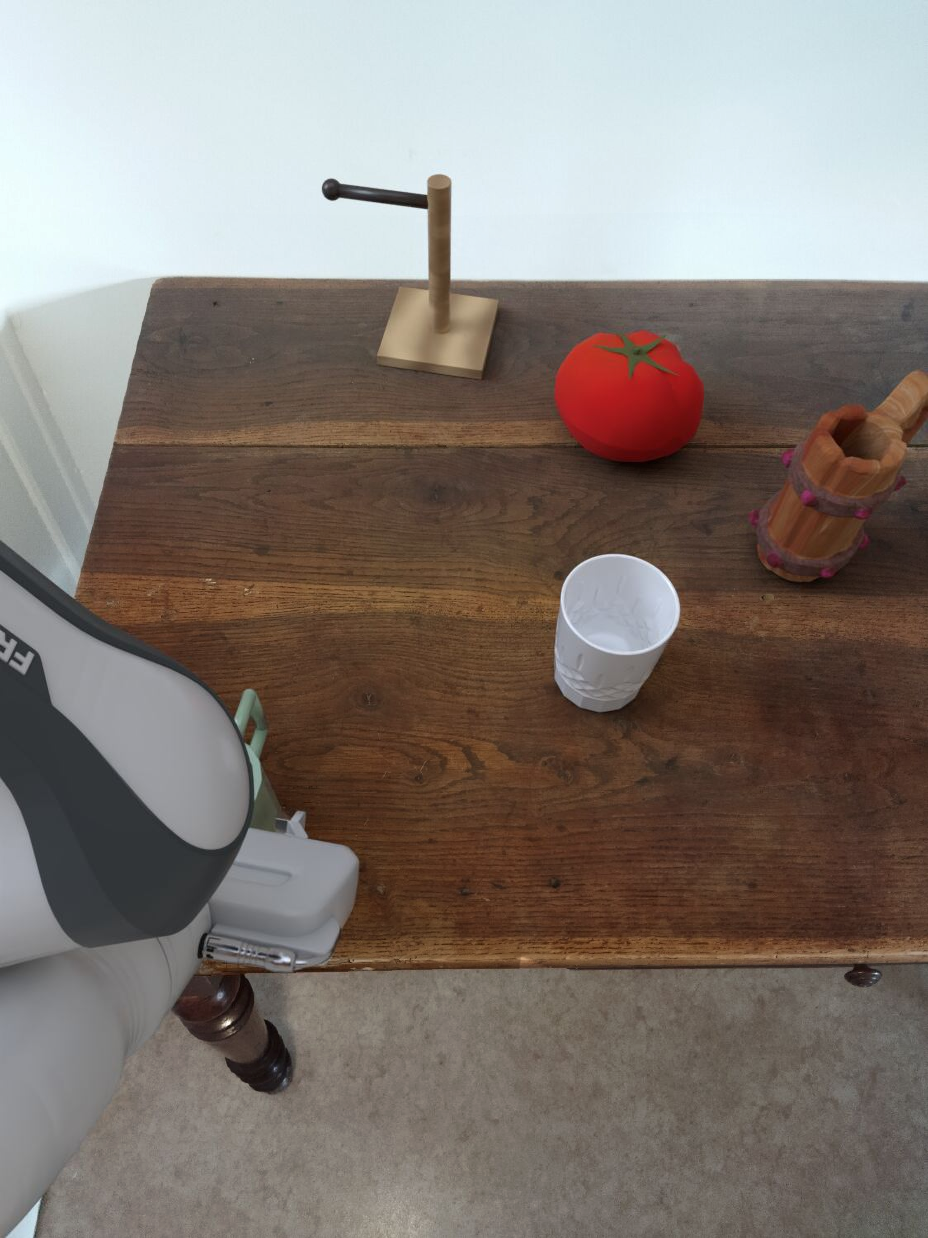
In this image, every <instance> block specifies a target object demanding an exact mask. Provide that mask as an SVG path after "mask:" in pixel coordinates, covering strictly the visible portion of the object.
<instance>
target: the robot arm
mask: <svg viewBox="0 0 928 1238" xmlns="http://www.w3.org/2000/svg"><path fill="white" fill-rule="evenodd" d="M245 743H246V742H245V740H244V736H243V737H242V735H241V733H240V730H239V728H238V726H237V724H236V722H235V720H234V717H233V715H232V713H231V712H230V710H229V709H228V707H227V705H226V704H225V703H224V702H223V700H222V699H221V698H220V696H218V694H217V693H216V692H215V691H214V690H213V689H212V688H211V687H210V686H209V685H208V684H207V683H206V682H205V681H204V680H202V679H201V678H200V677H199V676H198V675H197V674H195V673H194V672H193V671H192V670H191V669H189V668H188V667H187V666H186V665H183V664H182V663H181V662H179V661H178V660H176V659H175V658H173V657H172V656H170V655H168V654H167V653H166V652H164V651H162V650H160V649H158V648H157V647H155V646H153V645H151V644H149V643H148V642H146V641H144V640H142V639H140V638H138V637H136V636H135V635H133V634H131V633H129V632H126V631H125V630H123V629H121V628H120V627H117V626H115V625H114V624H112V623H111V622H109V621H108V620H105V619H104V618H102V617H100V616H99V615H98V614H96V613H94V612H93V611H91V610H90V609H89V608H87V607H86V606H84V605H83V604H82V603H80V602H79V601H78V600H76V599H75V598H74V597H72V596H71V595H70V594H69V593H67V592H66V591H65V590H64V589H62V588H61V587H60V586H59V585H57V584H56V583H55V582H54V581H52V579H50V578H49V577H47V576H46V575H45V574H44V573H42V572H41V571H40V570H39V569H38V568H36V567H35V566H34V565H32V564H31V562H28V561H27V560H26V559H25V558H24V557H22V556H21V554H19V553H17V552H16V551H15V550H14V549H12V548H11V547H10V546H9V545H8V544H6V543H5V542H4V541H3V540H1V539H0V1238H7V1237H8V1236H9V1235H10V1234H11V1233H12V1232H13V1231H14V1230H15V1229H16V1228H17V1227H18V1226H19V1224H20V1223H21V1222H22V1221H23V1220H24V1219H25V1218H26V1217H27V1215H28V1214H29V1213H30V1212H31V1211H32V1209H33V1208H34V1207H35V1206H36V1205H37V1204H38V1203H39V1201H41V1199H42V1198H43V1196H44V1195H45V1194H46V1192H48V1190H49V1189H50V1188H51V1186H52V1184H53V1183H55V1180H57V1178H58V1177H59V1176H60V1174H61V1173H62V1172H63V1171H64V1169H65V1168H66V1166H67V1165H68V1164H69V1162H70V1161H71V1160H72V1158H73V1156H74V1155H75V1154H76V1153H77V1151H78V1150H79V1148H80V1147H82V1144H83V1143H84V1142H85V1140H86V1138H87V1137H88V1136H89V1134H90V1132H91V1131H92V1130H93V1128H94V1127H95V1125H96V1123H97V1122H98V1120H99V1119H100V1118H101V1116H102V1115H103V1114H104V1112H105V1110H106V1108H107V1107H108V1105H109V1104H110V1102H111V1100H112V1099H113V1097H114V1095H115V1093H116V1091H117V1089H118V1086H119V1084H120V1082H121V1079H122V1077H123V1072H124V1068H125V1064H126V1061H127V1060H128V1059H129V1058H131V1057H132V1056H134V1055H135V1054H136V1053H137V1052H138V1051H140V1050H141V1049H142V1048H143V1047H144V1046H145V1045H146V1044H147V1043H148V1042H149V1041H150V1040H151V1039H152V1037H153V1036H154V1035H155V1034H156V1032H157V1031H158V1029H159V1028H160V1027H161V1025H162V1023H163V1022H164V1020H165V1019H166V1018H167V1016H168V1015H169V1013H170V1012H171V1010H172V1009H173V1007H174V1006H175V1004H176V1003H177V1002H178V1000H179V999H180V997H181V995H182V994H183V992H184V990H185V989H186V987H187V986H188V985H189V983H190V981H191V980H192V979H193V977H194V975H195V974H196V972H197V971H198V970H199V968H200V966H201V965H202V964H203V962H204V960H205V959H207V960H212V961H217V962H222V963H227V964H232V965H240V966H241V965H242V966H243V965H246V966H251V967H255V968H256V967H257V968H261V969H264V970H266V971H269V972H271V973H276V974H293V973H294V972H295V971H299V970H302V969H304V968H311V967H315V966H318V967H321V966H325V965H326V964H328V963H329V961H330V960H331V959H332V958H333V955H334V954H335V952H336V949H337V947H338V945H339V942H340V940H341V938H342V930H343V927H344V926H345V925H346V923H347V921H348V919H349V917H350V916H351V914H352V912H353V909H354V906H355V902H356V896H357V891H358V885H359V875H360V860H359V857H358V856H357V855H356V853H355V852H354V851H353V850H352V849H351V847H349V846H347V845H343V844H340V843H339V844H338V843H333V842H328V841H323V840H317V839H312V838H309V836H308V834H307V832H306V831H305V827H306V819H307V813H306V811H303V810H297V809H291V808H285V807H281V808H282V809H281V811H280V813H278V814H277V816H276V817H275V822H274V829H275V832H270V831H265V830H259V829H254V828H249V826H250V823H251V820H252V815H253V809H254V780H253V773H252V767H251V763H250V758H249V755H248V751H247V748H246V745H245Z"/></svg>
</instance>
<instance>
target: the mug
mask: <svg viewBox="0 0 928 1238" xmlns="http://www.w3.org/2000/svg"><path fill="white" fill-rule="evenodd" d="M927 419H928V373H925V372H924V371H922V370H920V369H916V370H912V371H911V372H910V373H908V374H907V375H906V376H904V378H903V379H902V380H901V381H900V383H898V385H896V387H894V389H893V390H892V391H891V392H890V393H889V395H888V396H887V397H886V398H885V399H884V400H883V401H882V402H881V403H880V405H878V406H877V407H876V408H875V409H873V410H872V411H871V412H869V411H867V409H866V407H864V406H863V405H860V404H846V405H843V406H841V407H840V408H838V409H837V410H836V411H832V410H831V411H827V412H825V413H824V414H823V415H822V416H821V417H820V418H819V420H818V422H817V424H816V425H815V426H814V428H813V430H811V431H810V432H808V433H807V434H806V435H804V436H803V437H802V438H801V439H800V440H799V442H797V445H796V446H795V448H790V449H787V450H784V451H783V453H782V455H781V456H780V460H781V462H782V464H783V466H784V467H785V468H787V478H786V481H785V483H784V485H783V487H782V489H780V490H779V491H777V492H775V493H774V494H773V495H772V496H771V497H770V498H769V499H768V500H767V501H766V502H765V503H764V505H763V507H762V508H761V509H753V510H752V511H750V512H749V514H748V520H749V522H750V524H751V525H752V526H753V527H754V528H755V534H756V540H757V545H756V550H757V555H758V559H759V560H760V562H761V563H762V565H763V566H764V567H765V568H766V569H767V570H768V571H771V572H773V573H774V574H775V576H776V575H777V576H778V577H780V578H782V579H784V580H786V581H791V582H797V583H803V582H806V583H810V582H812V581H814V580H816V579H818V578H823V579H829V578H832V577H833V576H834V575H835V574H836V572H838V571H839V570H841V569H842V568H844V567H845V566H846V565H847V564H848V563H849V561H850V560H851V559H852V558H853V556H854V555H855V553H856V552H857V550H858V551H859V550H863V549H865V548H867V547H868V546H869V543H870V538H869V536H868V534H866V533H865V528H864V527H865V526H864V523H865V522H866V521H867V519H870V518H871V517H872V514H873V513H874V512H875V511H876V510H878V509H879V508H882V506H883V505H884V504H885V503H886V502H888V500H889V498H890V497H891V495H892V494H893V492H896V491H899V490H901V489H902V488H903V487H904V486H905V485H906V484H907V479H906V477H905V476H904V475H903V474H902V472H901V467H902V465H903V463H904V462H905V460H906V458H907V453H908V445H909V444H910V442H911V441H912V440H913V438H914V437H915V436H916V434H917V433H918V432H919V430H920V429H921V428H922V427H923V425H924V423H925V422H926V421H927Z"/></svg>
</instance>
